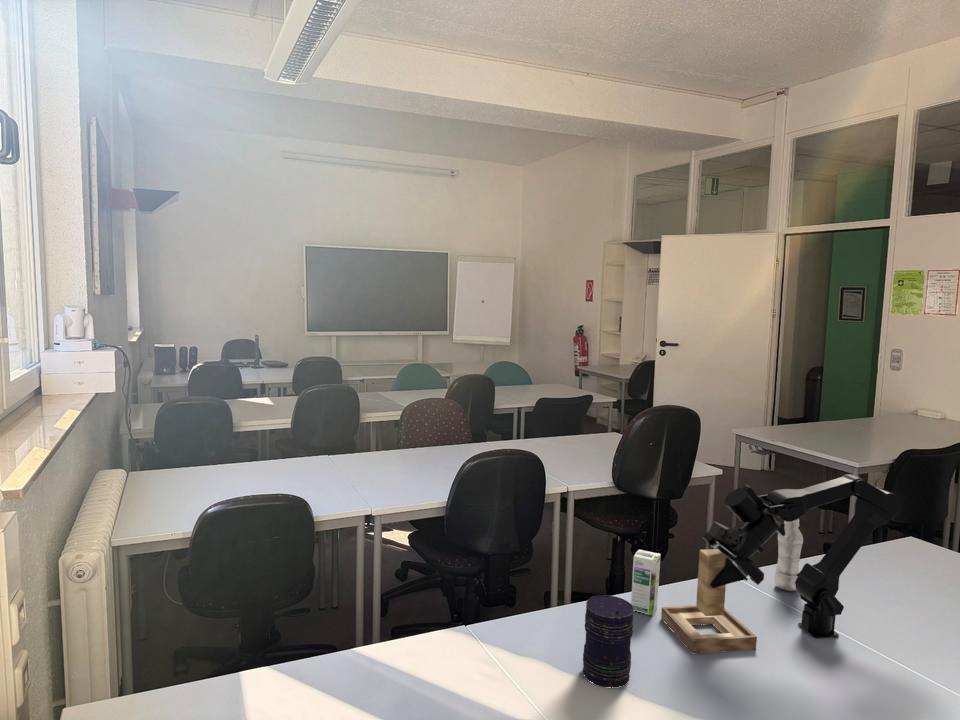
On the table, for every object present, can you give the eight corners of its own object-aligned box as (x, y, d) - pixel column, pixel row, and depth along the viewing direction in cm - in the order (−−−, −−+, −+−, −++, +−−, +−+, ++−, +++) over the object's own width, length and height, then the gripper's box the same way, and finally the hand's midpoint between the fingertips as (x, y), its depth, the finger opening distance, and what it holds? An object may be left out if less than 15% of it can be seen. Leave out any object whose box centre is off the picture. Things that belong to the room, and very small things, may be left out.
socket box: (719, 615, 161) (720, 604, 161) (755, 649, 146) (756, 636, 145) (661, 618, 158) (661, 607, 158) (692, 653, 143) (693, 641, 143)
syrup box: (629, 611, 162) (633, 555, 160) (635, 601, 167) (638, 547, 166) (652, 617, 159) (656, 560, 158) (657, 607, 164) (661, 552, 163)
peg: (713, 605, 153) (717, 549, 151) (723, 615, 148) (727, 556, 147) (696, 606, 152) (699, 549, 151) (705, 616, 148) (709, 557, 146)
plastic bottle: (775, 592, 175) (781, 521, 173) (771, 581, 182) (777, 513, 180) (801, 595, 173) (807, 524, 171) (796, 585, 180) (802, 516, 178)
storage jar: (573, 665, 137) (577, 598, 136) (613, 657, 141) (617, 592, 139) (598, 692, 128) (601, 621, 126) (639, 683, 131) (644, 614, 130)
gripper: (712, 498, 157) (667, 543, 157) (755, 526, 139) (704, 577, 139) (739, 529, 159) (695, 573, 159) (785, 559, 141) (735, 610, 141)
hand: (706, 582), depth 149 cm, fingers closed on peg, 4 cm apart
